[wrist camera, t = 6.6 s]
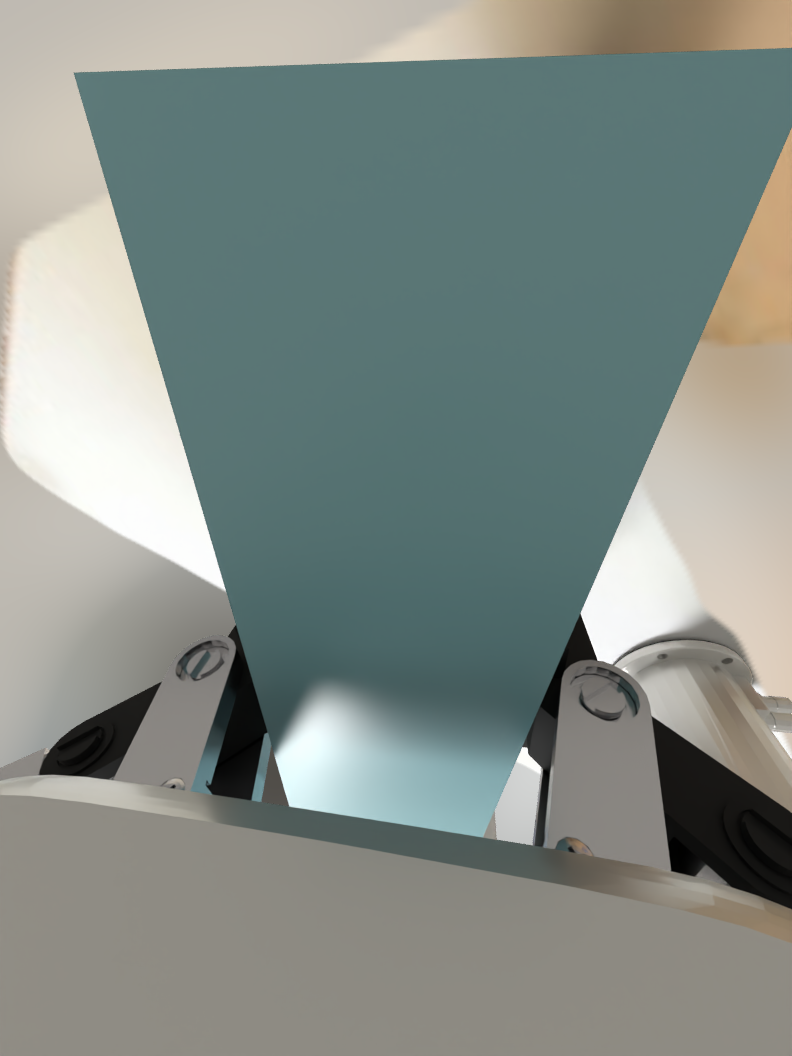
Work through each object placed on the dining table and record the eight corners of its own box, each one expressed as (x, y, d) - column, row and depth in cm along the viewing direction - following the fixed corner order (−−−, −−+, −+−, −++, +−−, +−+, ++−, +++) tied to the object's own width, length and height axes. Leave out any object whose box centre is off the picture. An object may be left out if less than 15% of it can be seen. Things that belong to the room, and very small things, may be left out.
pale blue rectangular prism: (564, 229, 7) (824, 48, 2) (458, 707, 16) (455, 901, 11) (337, 225, 7) (75, 75, 2) (356, 690, 16) (307, 867, 11)
